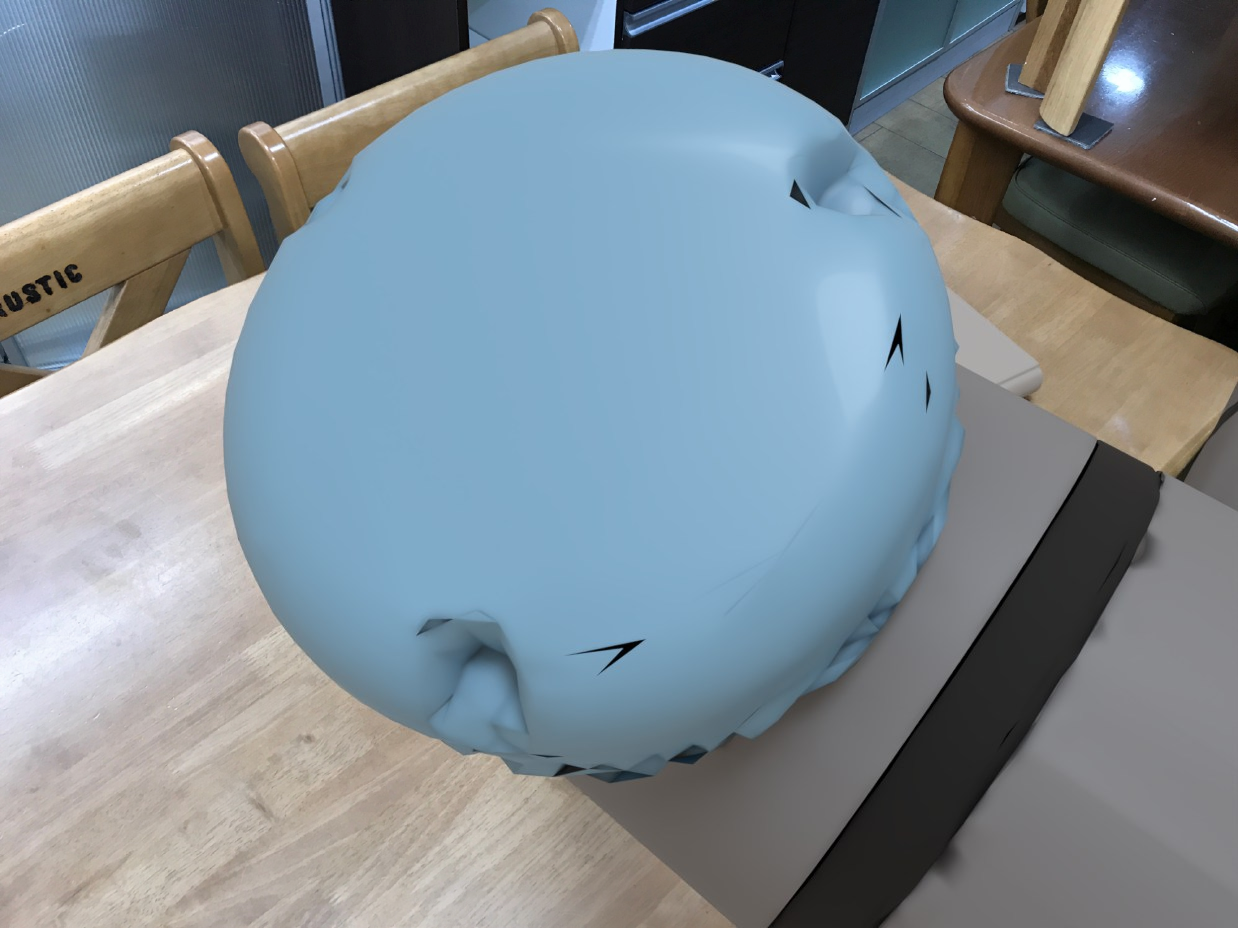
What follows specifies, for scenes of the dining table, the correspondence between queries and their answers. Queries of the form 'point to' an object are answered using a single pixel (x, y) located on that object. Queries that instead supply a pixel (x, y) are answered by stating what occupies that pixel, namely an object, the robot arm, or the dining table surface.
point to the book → (991, 351)
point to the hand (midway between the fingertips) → (768, 674)
